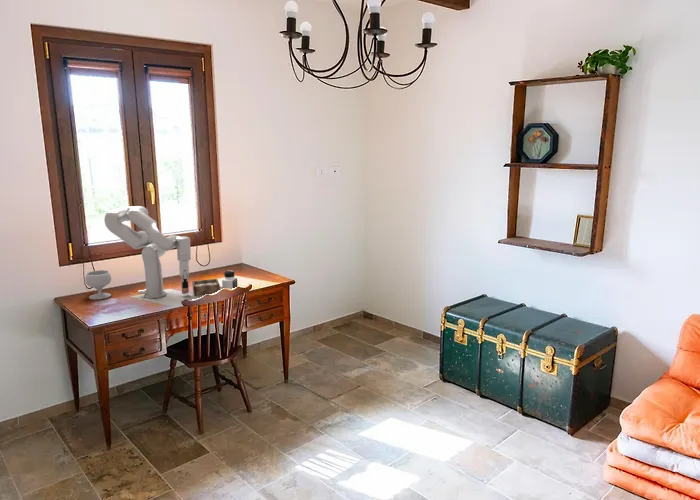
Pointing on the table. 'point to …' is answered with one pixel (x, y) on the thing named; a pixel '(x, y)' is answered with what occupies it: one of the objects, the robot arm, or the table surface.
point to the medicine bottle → (229, 280)
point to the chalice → (98, 282)
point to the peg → (184, 290)
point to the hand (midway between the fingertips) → (185, 286)
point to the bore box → (205, 287)
